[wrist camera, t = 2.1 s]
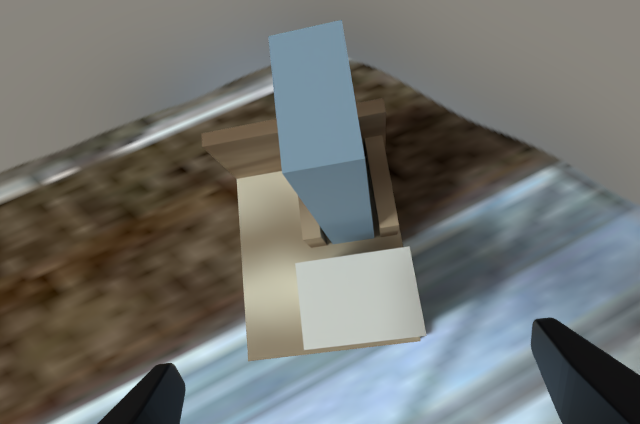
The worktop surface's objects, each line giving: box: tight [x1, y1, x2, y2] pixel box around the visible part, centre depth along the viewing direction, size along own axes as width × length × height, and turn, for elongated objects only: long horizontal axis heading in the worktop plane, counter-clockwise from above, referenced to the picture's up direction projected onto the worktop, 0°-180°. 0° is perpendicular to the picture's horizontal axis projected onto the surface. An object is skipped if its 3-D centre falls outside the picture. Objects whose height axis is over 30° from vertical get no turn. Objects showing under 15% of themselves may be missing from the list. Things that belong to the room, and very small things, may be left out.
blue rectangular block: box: [269, 20, 374, 244], centre depth 18 cm, size 5×2×12 cm, turn 7°
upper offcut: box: [295, 246, 427, 350], centre depth 19 cm, size 4×6×2 cm
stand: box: [202, 98, 420, 361], centre depth 21 cm, size 12×10×6 cm
